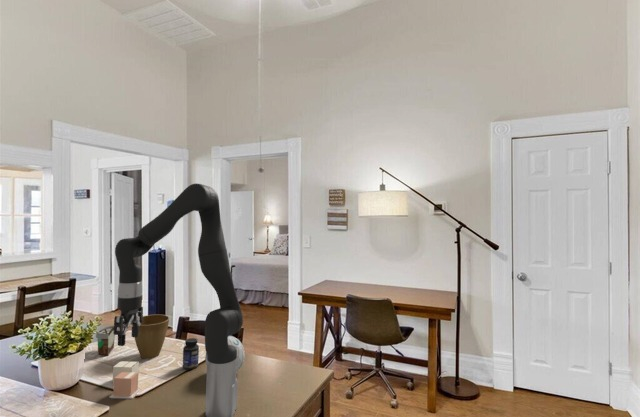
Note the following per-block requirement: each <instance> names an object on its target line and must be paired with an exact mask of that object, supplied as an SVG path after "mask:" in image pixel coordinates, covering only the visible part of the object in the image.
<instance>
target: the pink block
mask: <svg viewBox="0 0 640 417" xmlns="http://www.w3.org/2000/svg"><path fill="white" fill-rule="evenodd" d="M138 389H139V375H138V373H136V372H131V373H130V372H121V373H120V374H119V375H117V376H116V377H115V378H114V383H113V392H112V394H113V396H132V395H133V394H134V393H135V392H136V391H137V390H138Z"/></svg>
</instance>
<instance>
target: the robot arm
mask: <svg viewBox="0 0 640 417" xmlns="http://www.w3.org/2000/svg"><path fill="white" fill-rule="evenodd" d="M219 198H220V197H219V195H218V192H217V191H216V190H215V189H214V188H213V187H211V186H209V185H205V184H201V183H191V184H190V185H189V186H187V187H186V188H185V189H184V190H182V192H181V193H179V195H178V196H177V197H176V198H175V199H174V200H173V201H172V202H171V203H170V204H169V205H168V206H167V207H166V208H165V209H164V210H163V211H162V212H160V213H159V214H158V215H157V216H156V217H154V218H153V219H152V220H150V221H149V222H147V223H146V224H145V225H144V226H143V227H141V228H140V229H139V230H138V234H137V236H136V237H131V238H130V237H129V238H122V239H120V240H119V241H118V242H117V243H116V246H115V248H114V249H115V250H114V254H115V259H116V262H117V266H118V270H119V275H118V276H119V277H118V289H117V306H116V308H117V310H118V311H120V315H118V316H117V315H115V316H114V317H113V319H114V320H113V326H114V332H113V334H114V335H115V336H117V346H118V347H124V346H125V345H126V333H127V331H128V329H130V326H131V338H134V337H138V336H139V326H140V323H142V322H143V316H144V307H143V306H142V305H143V282H142V281H143V267H142V266H141V265H140V264H136V261H135V259H136V258H140V257H142V256H144V255H146V254H147V253H148V252H149V251H150V250H151V249H152V248H153V247H154V245H155V244H156V243H158V242H159V241H161V240H163V239H164V238H165V237H166V236H168V234H170V233H171V232H172V230H173V229H174V228H175V226H176V224H178V221H179V220H181V219H182V218H183V217H185V216H186V215H188V214H190V213H192V212H198V215H199V219H200V223H201V231H200V237H199V242H198V247H197V256H198V261H199V267H200V270H201V273H202V275H203V276H204V278H205V279H206V281H207V282H208V283H209V284H210V286H211V287H212V288H213V289H214V291H215V293H216V295H217V298H218V302H219V303H218V304H219V308H217V309H213V310H212V311H209V313H207V314H206V317H205V319H204V320H205V321H204V350H205V354H206V353H207V365H206V380H205V381H206V385H205V386H206V387H205V389H206V390H205V416H206V417H234V414H235V412H236V411H235V410H237V408H238V382H239V379H238V378H237V372H236V367H237V349H236V347H234V346H232V345H228V336H233V335H234V334H237V333H238V332H239V331H241V330H242V328H243V323H244V317H243V312H242V309H241V306H240V305H241V304H240V302H239V300H238V299H239V298H238V295H237V292H236V289H235V284H234V281H233V275H232V272H231V267H230V261H229V255H228V254H229V253H228V250H227V246H226V241H225V237H224V230H223V227H222V220H221V210H220V199H219ZM139 317H140V319H139Z"/></svg>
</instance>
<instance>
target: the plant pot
mask: <svg viewBox="0 0 640 417" xmlns="http://www.w3.org/2000/svg"><path fill="white" fill-rule="evenodd" d="M139 319H140V317H139ZM169 322H170V316H168V315H166V314H148V315H143V322H142V323H140V326H139V336H138V337H133V338H134V342H135V344H136V348H137V351H138V352H139V355H140V357H141V358H142V359H144V360H145V359H149V360H150V359H153V358H156V357H158V356H159V355H160V354H161V351H162V350H163V346H164V343H165V340H166V336H167V333H168V328H169Z"/></svg>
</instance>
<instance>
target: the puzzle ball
mask: <svg viewBox="0 0 640 417" xmlns="http://www.w3.org/2000/svg"><path fill="white" fill-rule="evenodd" d="M228 345H232V346H234V347H236V349H237V367H236V373H237V372H238V371H239V370H240V368H242V365H243V363H244V360H245V357H246V354H245V353H246V352H245V348H244V345H243V343H242V342H241V341H240V340H239V339H238V338H236V337H235V336H233V335H230V336H228ZM205 364H206V366H207V353H206V352H205Z"/></svg>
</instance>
